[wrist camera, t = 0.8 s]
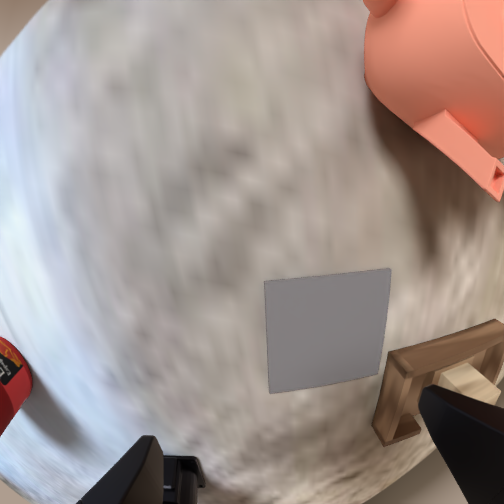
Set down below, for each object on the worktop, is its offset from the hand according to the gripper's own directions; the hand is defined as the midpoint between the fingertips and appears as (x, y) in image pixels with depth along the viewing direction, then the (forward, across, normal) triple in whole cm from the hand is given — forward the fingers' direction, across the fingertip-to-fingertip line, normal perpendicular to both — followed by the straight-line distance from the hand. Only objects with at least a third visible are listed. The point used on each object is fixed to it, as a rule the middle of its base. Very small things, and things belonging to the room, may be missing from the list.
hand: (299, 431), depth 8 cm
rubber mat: (+14, -6, +5) cm, 15 cm away
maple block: (+12, -19, +13) cm, 26 cm away
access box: (+14, -19, +13) cm, 27 cm away
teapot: (+14, -14, -16) cm, 25 cm away
